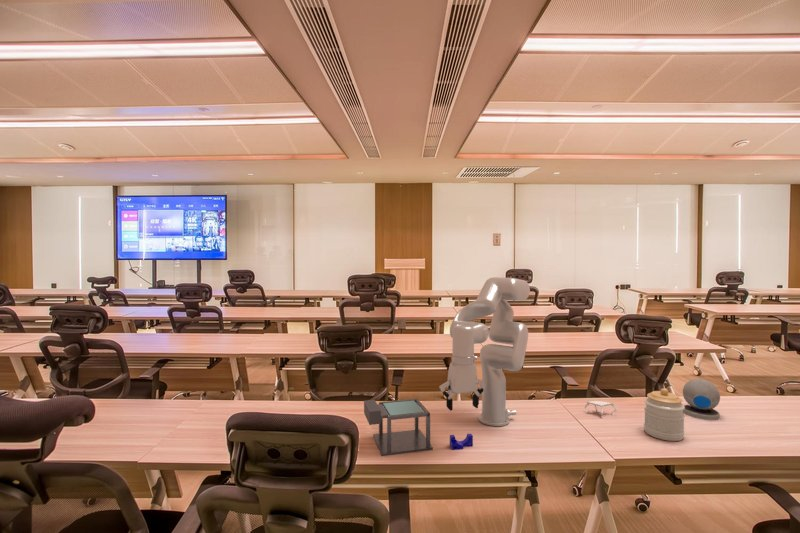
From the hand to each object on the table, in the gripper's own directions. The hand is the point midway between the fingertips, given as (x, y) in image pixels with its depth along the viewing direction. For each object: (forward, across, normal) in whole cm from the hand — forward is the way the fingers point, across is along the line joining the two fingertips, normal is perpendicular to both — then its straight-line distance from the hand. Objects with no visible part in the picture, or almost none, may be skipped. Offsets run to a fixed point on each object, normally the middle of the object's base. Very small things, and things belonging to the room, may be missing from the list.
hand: (462, 408), depth 144 cm
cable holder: (+15, 0, -1) cm, 15 cm away
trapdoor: (+4, +23, -9) cm, 25 cm away
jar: (+14, -79, +9) cm, 81 cm away
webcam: (+14, -112, -3) cm, 113 cm away
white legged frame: (+14, -71, -14) cm, 73 cm away
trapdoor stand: (+14, +20, -9) cm, 26 cm away
